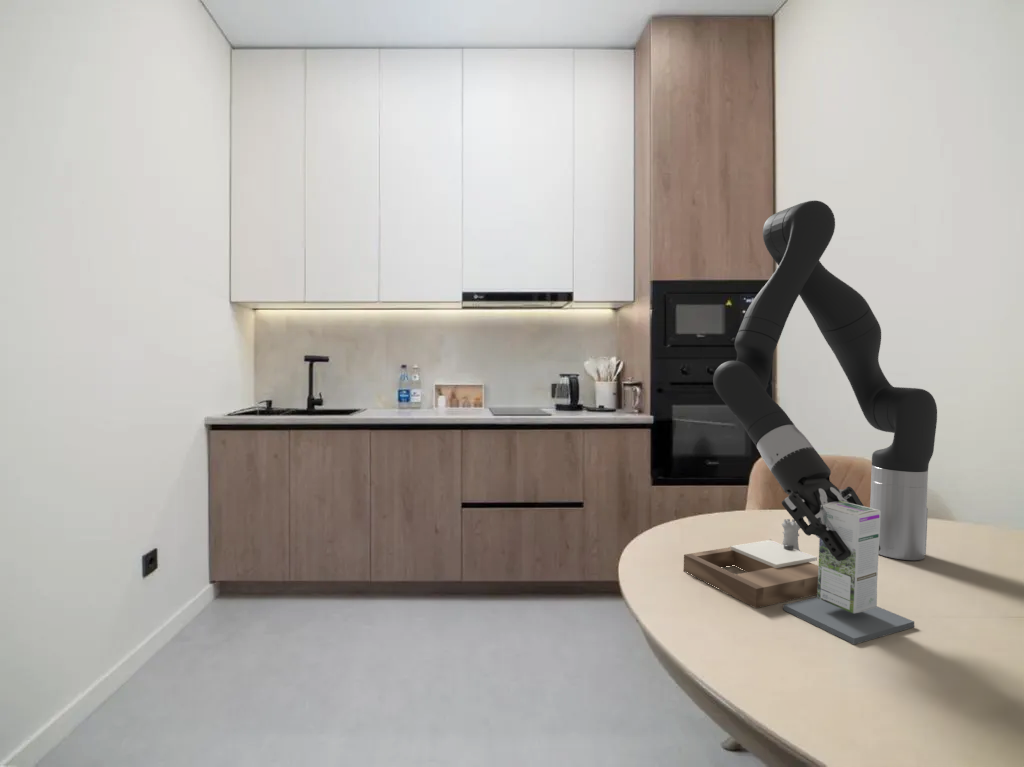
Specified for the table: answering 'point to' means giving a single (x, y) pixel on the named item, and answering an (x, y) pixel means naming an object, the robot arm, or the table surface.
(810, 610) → the rubber mat
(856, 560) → the syrup box
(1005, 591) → the table surface
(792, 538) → the rook chess piece
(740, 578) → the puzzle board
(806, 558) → the sliding lid
